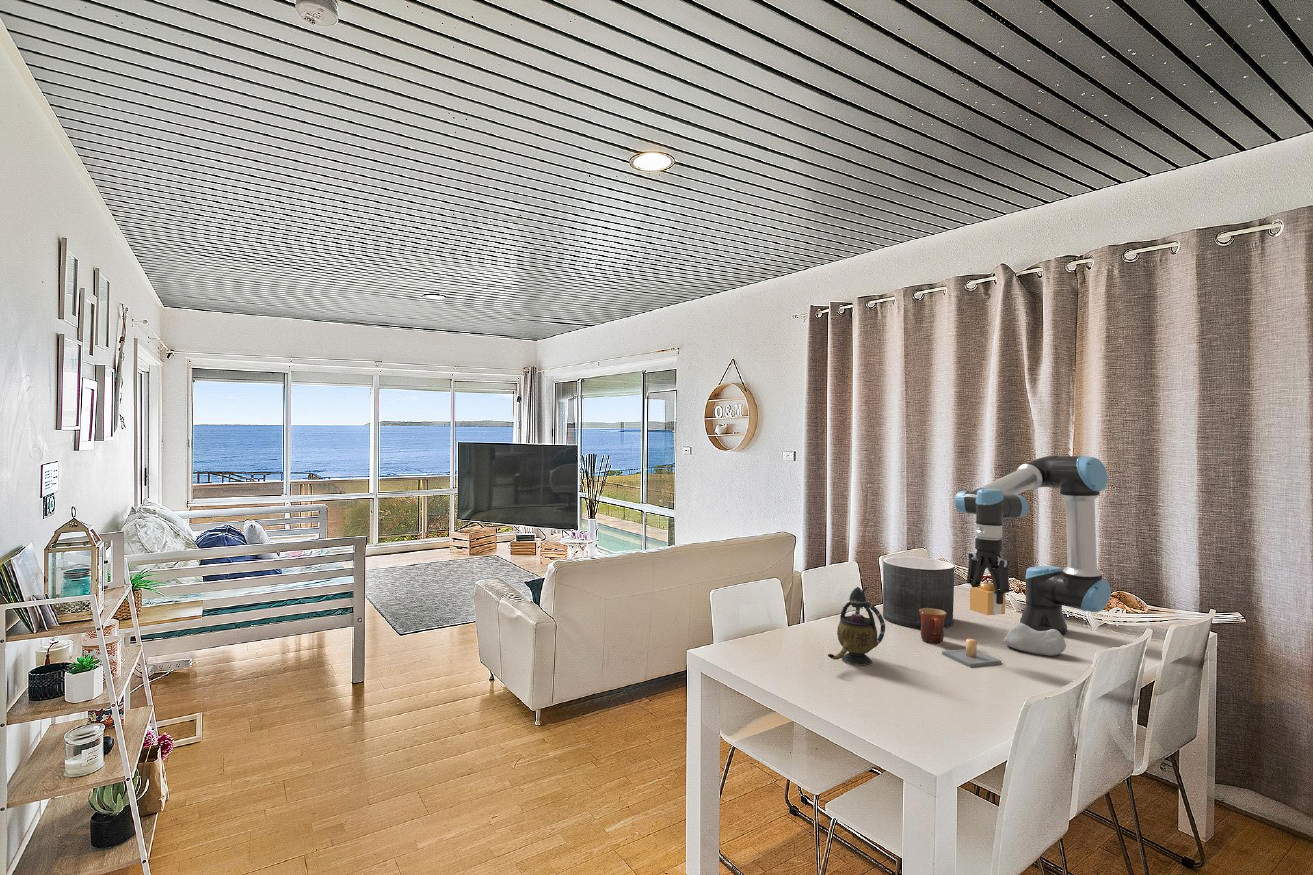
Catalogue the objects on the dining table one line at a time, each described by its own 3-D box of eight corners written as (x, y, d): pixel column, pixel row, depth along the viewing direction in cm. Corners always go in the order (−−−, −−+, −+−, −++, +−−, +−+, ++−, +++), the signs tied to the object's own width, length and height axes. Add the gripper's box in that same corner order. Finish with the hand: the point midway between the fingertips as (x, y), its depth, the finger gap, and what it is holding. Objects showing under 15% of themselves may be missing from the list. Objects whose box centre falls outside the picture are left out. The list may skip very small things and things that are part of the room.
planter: (965, 630, 236) (966, 570, 236) (895, 628, 236) (896, 568, 236) (936, 611, 261) (937, 557, 261) (873, 610, 261) (874, 556, 262)
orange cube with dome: (986, 608, 208) (987, 581, 208) (1004, 613, 201) (1005, 586, 201) (969, 609, 205) (970, 582, 205) (987, 615, 199) (987, 587, 199)
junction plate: (971, 651, 212) (972, 633, 212) (1001, 663, 200) (1001, 644, 200) (941, 654, 208) (942, 635, 208) (970, 667, 197) (970, 647, 197)
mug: (916, 636, 227) (916, 607, 227) (942, 638, 226) (943, 609, 226) (923, 647, 216) (923, 616, 216) (951, 649, 214) (951, 618, 214)
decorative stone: (1001, 642, 213) (1007, 614, 218) (1004, 652, 220) (1009, 625, 224) (1062, 657, 203) (1067, 628, 207) (1063, 668, 210) (1068, 639, 214)
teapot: (888, 659, 203) (889, 585, 203) (849, 679, 185) (850, 598, 185) (852, 649, 211) (853, 579, 211) (812, 668, 193) (813, 591, 194)
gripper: (955, 533, 212) (953, 603, 211) (1005, 543, 193) (1003, 620, 193) (973, 533, 214) (971, 602, 214) (1024, 542, 195) (1023, 618, 195)
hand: (986, 610), depth 203 cm, fingers closed on orange cube with dome, 7 cm apart
